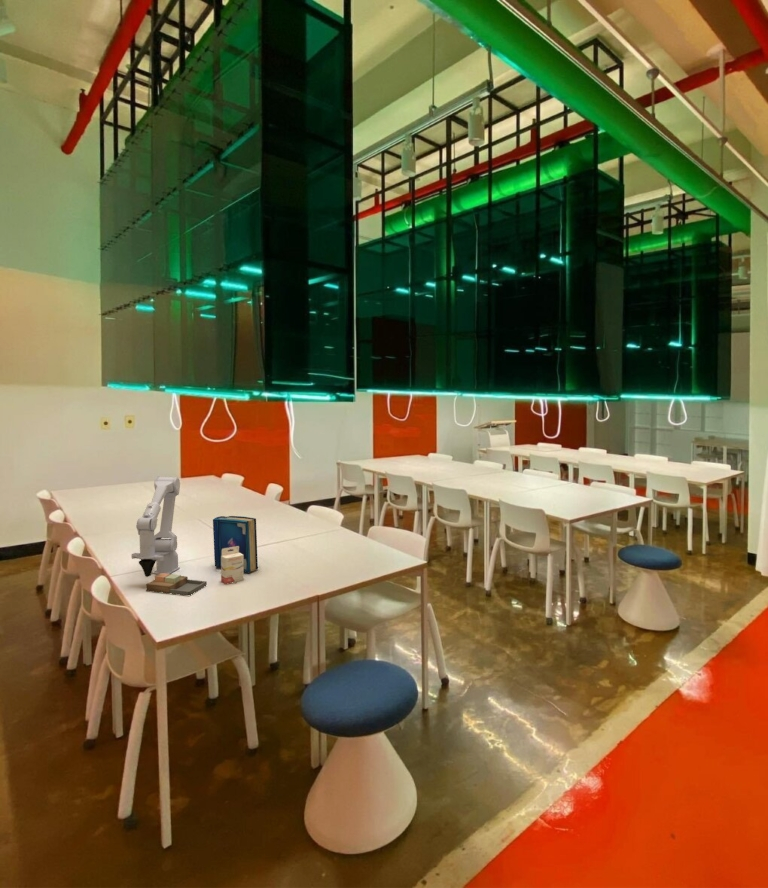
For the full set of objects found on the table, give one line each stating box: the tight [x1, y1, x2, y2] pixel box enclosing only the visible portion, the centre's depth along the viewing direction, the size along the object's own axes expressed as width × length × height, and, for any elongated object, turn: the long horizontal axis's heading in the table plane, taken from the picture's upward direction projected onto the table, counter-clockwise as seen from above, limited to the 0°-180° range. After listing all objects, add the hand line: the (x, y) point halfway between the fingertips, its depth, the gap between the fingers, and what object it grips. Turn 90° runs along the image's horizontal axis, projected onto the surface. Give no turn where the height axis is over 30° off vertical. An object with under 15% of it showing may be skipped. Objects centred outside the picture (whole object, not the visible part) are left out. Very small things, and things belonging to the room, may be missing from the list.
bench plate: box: [145, 575, 188, 594], centre depth 208 cm, size 12×11×3 cm
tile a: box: [154, 573, 172, 582], centre depth 208 cm, size 4×4×2 cm
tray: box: [170, 579, 207, 596], centre depth 206 cm, size 12×9×2 cm
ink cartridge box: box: [220, 546, 245, 585], centre depth 216 cm, size 9×5×15 cm, turn 131°
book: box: [212, 515, 259, 574], centre depth 231 cm, size 22×7×25 cm, turn 68°
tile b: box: [165, 573, 182, 583], centre depth 207 cm, size 4×4×2 cm
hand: (148, 575), depth 210 cm, fingers closed
